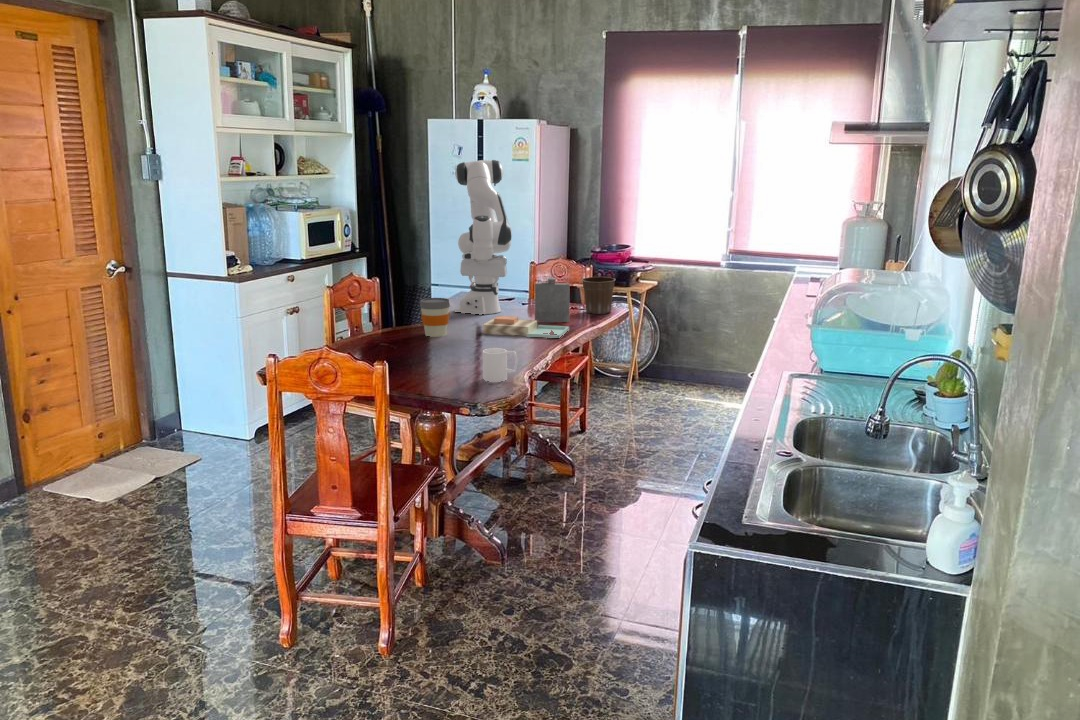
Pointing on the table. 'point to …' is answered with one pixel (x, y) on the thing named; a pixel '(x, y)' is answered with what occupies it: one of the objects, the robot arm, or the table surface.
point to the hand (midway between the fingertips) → (484, 286)
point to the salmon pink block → (505, 320)
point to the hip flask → (552, 301)
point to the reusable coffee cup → (435, 316)
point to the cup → (496, 364)
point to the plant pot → (598, 294)
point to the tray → (547, 329)
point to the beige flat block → (510, 327)
